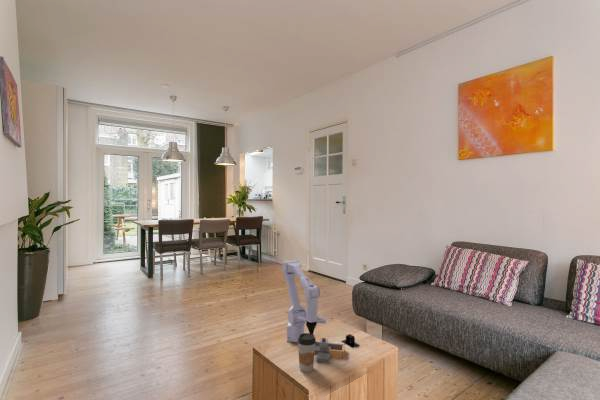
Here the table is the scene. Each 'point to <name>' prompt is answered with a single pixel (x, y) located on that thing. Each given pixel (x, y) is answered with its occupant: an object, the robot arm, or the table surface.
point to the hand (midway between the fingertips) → (311, 336)
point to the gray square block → (323, 357)
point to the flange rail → (332, 349)
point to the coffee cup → (306, 351)
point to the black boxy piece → (350, 341)
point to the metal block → (323, 344)
